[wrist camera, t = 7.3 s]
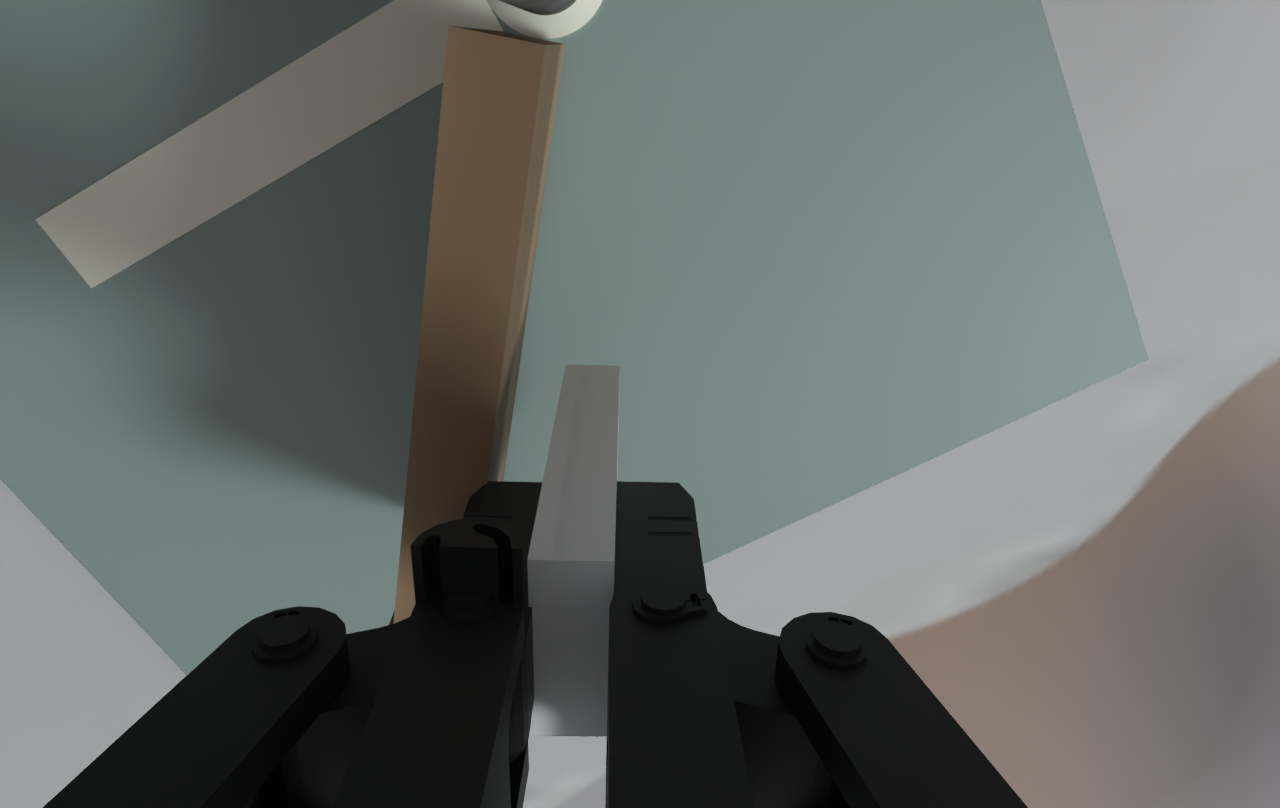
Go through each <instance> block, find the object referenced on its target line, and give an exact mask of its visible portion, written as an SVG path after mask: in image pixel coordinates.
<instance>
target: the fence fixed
mask: <svg viewBox="0 0 1280 808" xmlns="http://www.w3.org/2000/svg"><path fill="white" fill-rule="evenodd" d="M499 1H502V2H504V3H507V4H510V5H512V6H515V7H517V8H520V9H522V10H525V11H528V12H530V13H533V14H537V15H554V14H557V13H560V12H562V11H564V10H566V9H567V8H569V7H570V6H571V5H572V4H574V3H575V1H576V0H499Z"/></svg>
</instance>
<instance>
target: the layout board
mask: <svg viewBox="0 0 1280 808" xmlns="http://www.w3.org/2000/svg"><path fill="white" fill-rule="evenodd" d="M448 26H457V27H467V28H476V29H486V30H495V31H503V32H508V33H512V34H517V35H522V36H527V37H532V38H537V39H542V40H547V41H552V42H557V43H562V44H565V49H564V56H563V63H562V70H561V77H560V85H559V92H558V99H557V106H556V113H555V120H554V127H553V134H552V141H551V148H550V155H549V162H548V169H547V176H546V183H545V191H544V198H543V205H542V212H541V219H540V226H539V233H538V240H537V247H536V254H535V261H534V268H533V275H532V282H531V289H530V297H529V304H528V311H527V318H526V325H525V332H524V339H523V346H522V353H521V360H520V367H519V374H518V381H517V388H516V395H515V403H514V410H513V417H512V424H511V431H510V438H509V445H508V452H507V459H506V466H505V473H504V480H503V481H509V482H543V477H544V472H545V467H546V462H547V457H548V452H549V447H550V442H551V437H552V432H553V427H554V421H555V416H556V411H557V406H558V401H559V396H560V391H561V386H562V381H563V376H564V371H565V366H566V365H606V366H620V382H619V428H618V475H617V481H624V482H673V483H680V485H681V486H682V487H683V488H684V489H685V490H686V491H687V492H688V493H689V494H690V495H691V496H692V497H693V499H694V503H695V510H696V521H697V525H698V532H699V539H700V546H701V553H702V560H703V564H704V563H707V562H709V561H711V560H713V559H715V558H718V557H720V556H722V555H724V554H726V553H728V552H731V551H733V550H735V549H737V548H739V547H741V546H744V545H746V544H748V543H750V542H752V541H755V540H757V539H759V538H761V537H763V536H765V535H768V534H770V533H772V532H774V531H776V530H778V529H781V528H783V527H785V526H787V525H789V524H792V523H794V522H796V521H798V520H800V519H802V518H805V517H807V516H809V515H811V514H813V513H815V512H818V511H820V510H822V509H824V508H826V507H829V506H831V505H833V504H835V503H837V502H839V501H842V500H844V499H846V498H848V497H850V496H852V495H855V494H857V493H859V492H861V491H863V490H866V489H868V488H870V487H872V486H874V485H876V484H879V483H881V482H883V481H885V480H887V479H889V478H892V477H894V476H896V475H898V474H900V473H903V472H905V471H907V470H909V469H911V468H913V467H916V466H918V465H920V464H922V463H924V462H926V461H929V460H931V459H933V458H935V457H937V456H940V455H942V454H944V453H946V452H948V451H950V450H953V449H955V448H957V447H959V446H961V445H963V444H966V443H968V442H970V441H972V440H974V439H977V438H979V437H981V436H983V435H985V434H987V433H990V432H992V431H994V430H996V429H998V428H1000V427H1003V426H1005V425H1007V424H1009V423H1011V422H1014V421H1016V420H1018V419H1020V418H1022V417H1024V416H1027V415H1029V414H1031V413H1033V412H1035V411H1037V410H1040V409H1042V408H1044V407H1046V406H1048V405H1051V404H1053V403H1055V402H1057V401H1059V400H1061V399H1064V398H1066V397H1068V396H1070V395H1072V394H1074V393H1077V392H1079V391H1081V390H1083V389H1085V388H1087V387H1090V386H1092V385H1094V384H1096V383H1098V382H1101V381H1103V380H1105V379H1107V378H1109V377H1111V376H1114V375H1116V374H1118V373H1120V372H1122V371H1124V370H1127V369H1129V368H1131V367H1133V366H1135V365H1138V364H1140V363H1142V362H1144V361H1146V360H1148V356H1147V353H1146V350H1145V346H1144V343H1143V340H1142V336H1141V333H1140V330H1139V326H1138V323H1137V320H1136V316H1135V313H1134V310H1133V306H1132V303H1131V300H1130V296H1129V293H1128V290H1127V287H1126V283H1125V280H1124V277H1123V273H1122V270H1121V267H1120V263H1119V260H1118V257H1117V253H1116V250H1115V247H1114V243H1113V240H1112V237H1111V233H1110V230H1109V227H1108V223H1107V220H1106V217H1105V213H1104V210H1103V207H1102V203H1101V200H1100V197H1099V194H1098V190H1097V187H1096V184H1095V180H1094V177H1093V174H1092V170H1091V167H1090V164H1089V160H1088V157H1087V154H1086V150H1085V147H1084V144H1083V140H1082V137H1081V134H1080V130H1079V127H1078V124H1077V120H1076V117H1075V114H1074V111H1073V107H1072V104H1071V101H1070V97H1069V94H1068V91H1067V87H1066V84H1065V81H1064V77H1063V74H1062V71H1061V67H1060V64H1059V61H1058V57H1057V54H1056V51H1055V47H1054V44H1053V41H1052V37H1051V34H1050V31H1049V27H1048V24H1047V21H1046V18H1045V14H1044V11H1043V8H1042V4H1041V1H1040V0H576V1H575V3H574V4H572V5H571V6H570V7H569V8H567V9H566V10H564V11H562V12H560V13H557V14H554V15H537V14H533V13H530V12H528V11H525V10H522V9H520V8H517V7H515V6H512V5H510V4H507V3H504V2H502V1H499V0H0V479H1V480H2V481H3V482H4V483H5V484H6V485H7V486H8V487H9V488H10V489H11V491H12V492H13V493H14V494H15V495H16V496H17V497H18V498H19V499H20V500H21V501H22V502H23V503H24V504H25V505H26V506H27V507H28V508H29V509H30V511H31V512H32V513H33V514H34V515H35V516H36V517H37V518H38V519H39V520H40V521H41V522H42V523H43V524H44V525H45V526H46V527H47V528H48V529H49V531H50V532H51V533H52V534H53V535H54V536H55V537H56V538H57V539H58V540H59V541H60V542H61V543H62V544H63V545H64V546H65V547H66V548H67V549H68V551H69V552H70V553H71V554H72V555H73V556H74V557H75V558H76V559H77V560H78V561H79V562H80V563H81V564H82V565H83V566H84V567H85V568H86V569H87V571H88V572H89V573H90V574H91V575H92V576H93V577H94V578H95V579H96V580H97V581H98V582H99V583H100V584H101V585H102V586H103V587H104V588H105V589H106V591H107V592H108V593H109V594H110V595H111V596H112V597H113V598H114V599H115V600H116V601H117V602H118V603H119V604H120V605H121V606H122V607H123V608H124V609H125V611H126V612H127V613H128V614H129V615H130V616H131V617H132V618H133V619H134V620H135V621H136V622H137V623H138V624H139V625H140V626H141V627H142V628H143V629H144V631H145V632H146V633H147V634H148V635H149V636H150V637H151V638H152V639H153V640H154V641H155V642H156V643H157V644H158V645H159V646H160V647H161V648H162V649H163V651H164V652H165V653H166V654H167V655H168V656H169V657H170V658H171V659H172V660H173V661H174V662H175V663H176V664H177V665H178V666H179V667H180V668H181V670H182V671H183V672H184V673H185V674H186V675H188V674H189V673H190V672H191V671H192V670H194V669H195V668H196V667H197V666H198V665H199V664H200V663H201V662H202V661H203V660H204V659H206V658H207V657H208V656H209V655H210V654H211V653H212V652H213V651H214V650H215V649H216V648H218V647H219V646H220V645H221V644H222V643H223V642H224V641H225V640H226V639H227V638H228V637H230V636H231V635H232V634H233V633H234V632H235V631H236V630H238V629H239V628H241V627H242V626H244V625H245V624H247V623H248V622H249V621H251V620H252V619H254V618H257V617H259V616H262V615H264V614H267V613H270V612H272V611H275V610H280V609H285V608H291V607H297V606H302V607H320V608H322V609H325V610H327V611H330V612H333V613H335V614H337V616H338V617H339V618H340V619H341V620H342V621H343V622H344V623H345V627H346V634H350V633H355V632H360V631H365V630H370V629H375V628H380V627H383V626H387V625H389V623H390V621H391V618H392V615H393V613H394V610H395V601H396V590H397V579H398V568H399V557H400V547H401V536H402V525H403V514H404V503H405V492H406V481H407V471H408V460H409V449H410V438H411V427H412V416H413V405H414V394H415V384H416V373H417V362H418V351H419V340H420V329H421V318H422V308H423V297H424V286H425V275H426V264H427V253H428V242H429V232H430V221H431V210H432V199H433V188H434V177H435V166H436V156H437V145H438V134H439V123H440V112H441V101H442V90H443V80H444V69H445V58H446V47H447V36H448Z"/></svg>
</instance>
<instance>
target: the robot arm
mask: <svg viewBox="0 0 1280 808" xmlns="http://www.w3.org/2000/svg"><path fill="white" fill-rule="evenodd" d="M619 382H620V366H606V365H566V366H565V371H564V376H563V381H562V386H561V391H560V396H559V401H558V406H557V411H556V416H555V421H554V427H553V432H552V437H551V442H550V447H549V452H548V457H547V462H546V467H545V472H544V477H543V482H509V481H488V482H487V484H484V485H483V486H482V487H481V488H480V489H479V490H477V491H476V492H475V493H474V494H473V495H472V496H470V498H469V501H468V504H467V507H466V509H465V512H464V515H463V519H458V520H453V521H449V522H446V523H442V524H438V525H435V526H434V527H432V528H430V529H428V530H426V531H425V532H423V533H421V534H420V535H419V536H418V537H417V538H416V539H415V541H414V542H413V543H412V544H411V545H410V547H411V558H412V569H413V580H414V592H415V606H414V608H413V611H412V613H411V616H410V617H409V618H406V619H404V620H402V621H399V622H397V623H395V624H391V625H387V626H383V627H380V628H375V629H370V630H365V631H360V632H355V633H350V634H346V627H345V623H344V622H343V621H342V620H341V619H340V618H339V617H338V616H337V614H335V613H333V612H330V611H327V610H325V609H322V608H320V607H302V606H297V607H291V608H285V609H280V610H275V611H272V612H270V613H267V614H264V615H262V616H259V617H257V618H254V619H252V620H251V621H249V622H248V623H247V624H245V625H244V626H242V627H241V628H239V629H238V630H236V631H235V632H234V633H233V634H232V635H231V636H230V637H228V638H227V639H226V640H225V641H224V642H223V643H222V644H221V645H220V646H219V647H218V648H216V649H215V650H214V651H213V652H212V653H211V654H210V655H209V656H208V657H207V658H206V659H204V660H203V661H202V662H201V663H200V664H199V665H198V666H197V667H196V668H195V669H194V670H192V671H191V672H190V673H189V674H188V675H187V676H186V677H185V678H184V679H183V680H182V681H180V682H179V683H178V684H177V685H176V686H175V687H174V688H173V689H172V690H171V691H170V692H168V693H167V694H166V695H165V696H164V697H163V698H162V699H161V700H160V701H159V702H158V703H156V704H155V705H154V706H153V707H152V708H151V709H150V710H149V711H148V712H147V713H146V714H144V715H143V716H142V717H141V718H140V719H139V720H138V721H137V722H136V723H135V724H134V725H132V726H131V727H130V728H129V729H128V730H127V731H126V732H125V733H124V734H123V735H121V736H120V737H119V738H118V739H117V740H116V741H115V742H114V743H113V744H112V745H111V746H109V747H108V748H107V749H106V750H105V751H104V752H103V753H102V754H101V755H100V756H99V757H97V758H96V759H95V760H94V761H93V762H92V763H91V764H90V765H89V766H88V767H87V768H85V769H84V770H83V771H82V772H81V773H80V774H79V775H78V776H77V777H76V778H75V779H73V780H72V781H71V782H70V783H69V784H68V785H67V786H66V787H65V788H64V789H63V790H61V791H60V792H59V793H58V794H57V795H56V796H55V797H54V798H53V799H52V800H51V801H49V802H48V803H47V804H46V805H45V806H44V807H43V808H522V807H523V801H524V795H525V789H526V783H527V777H528V770H529V760H528V738H529V731H530V724H531V718H532V736H607V757H606V808H1028V807H1027V806H1026V805H1025V804H1024V803H1023V801H1022V800H1021V799H1020V798H1019V797H1018V795H1017V794H1016V793H1015V792H1014V791H1013V789H1012V788H1011V787H1010V786H1009V785H1008V783H1007V782H1006V781H1005V780H1004V778H1003V777H1002V776H1001V775H1000V774H999V772H998V771H997V770H996V769H995V768H994V766H993V765H992V764H991V763H990V762H989V760H988V759H987V758H986V757H985V756H984V754H983V753H982V752H981V751H980V750H979V748H978V747H977V746H976V745H975V744H974V742H973V741H972V740H971V739H970V738H969V736H968V735H967V734H966V733H965V732H964V730H963V729H962V728H961V727H960V726H959V724H958V723H957V722H956V721H955V720H954V718H953V717H952V716H951V715H950V714H949V712H948V711H947V710H946V709H945V708H944V706H943V705H942V704H941V703H940V701H939V700H938V699H937V698H936V697H935V696H934V694H933V693H932V692H931V691H930V690H929V688H928V687H927V686H926V685H925V684H924V682H923V681H922V680H921V679H920V677H919V676H918V675H917V674H916V673H915V671H914V670H913V669H912V668H911V667H910V665H909V664H908V663H907V662H906V661H905V659H904V658H903V657H902V656H901V655H900V654H899V652H898V651H897V650H896V649H895V647H894V646H893V645H892V644H891V643H890V641H889V640H888V639H887V638H886V637H885V636H884V635H882V634H881V633H880V632H879V631H878V630H877V629H875V628H874V627H873V626H871V625H869V624H867V623H865V622H863V621H861V620H859V619H856V618H854V617H851V616H846V615H842V614H837V613H832V612H824V613H809V614H806V615H803V616H799V617H796V618H794V619H792V620H791V621H790V622H789V623H788V624H787V625H786V626H784V627H783V628H782V631H781V635H780V637H779V636H775V635H771V634H767V633H762V632H758V631H755V630H752V629H749V628H746V627H742V626H740V625H738V624H736V623H734V622H733V621H731V620H729V619H727V618H726V617H725V616H723V615H722V614H721V613H720V612H718V611H717V607H716V605H715V603H714V601H713V599H712V597H711V595H710V594H708V593H707V589H706V581H705V574H704V567H703V560H702V553H701V546H700V539H699V532H698V525H697V521H696V510H695V503H694V499H693V497H692V496H691V495H690V494H689V493H688V492H687V491H686V490H685V489H684V488H683V487H682V486H681V485H680V483H673V482H624V481H617V475H618V428H619Z"/></svg>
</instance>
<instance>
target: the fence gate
mask: <svg viewBox="0 0 1280 808" xmlns="http://www.w3.org/2000/svg"><path fill="white" fill-rule="evenodd" d="M564 49H565V44H562V43H557V42H552V41H547V40H542V39H537V38H532V37H527V36H522V35H517V34H512V33H508V32H503V31H495V30H486V29H476V28H467V27H457V26H448V36H447V47H446V58H445V69H444V80H443V90H442V101H441V112H440V123H439V134H438V145H437V156H436V166H435V177H434V188H433V199H432V210H431V221H430V232H429V242H428V253H427V264H426V275H425V286H424V297H423V308H422V318H421V329H420V340H419V351H418V362H417V373H416V384H415V394H414V405H413V416H412V427H411V438H410V449H409V460H408V471H407V481H406V492H405V503H404V514H403V525H402V536H401V547H400V557H399V568H398V579H397V590H396V601H395V610H394V613H393V615H392V618H391V621H390V623H389V625H391V624H395V623H397V622H399V621H402V620H404V619H406V618H409V617H410V616H411V613H412V611H413V608H414V606H415V592H414V580H413V569H412V558H411V547H410V545H411V544H412V543H413V542H414V541H415V539H416V538H417V537H418V536H419V535H420V534H421V533H423V532H425V531H426V530H428V529H430V528H432V527H434V526H435V525H438V524H442V523H446V522H449V521H453V520H458V519H463V515H464V512H465V509H466V507H467V504H468V501H469V498H470V496H472V495H473V494H474V493H475V492H476V491H477V490H479V489H480V488H481V487H482V486H483V485H484V484H487V482H488V481H503V480H504V473H505V466H506V459H507V452H508V445H509V438H510V431H511V424H512V417H513V410H514V403H515V395H516V388H517V381H518V374H519V367H520V360H521V353H522V346H523V339H524V332H525V325H526V318H527V311H528V304H529V297H530V289H531V282H532V275H533V268H534V261H535V254H536V247H537V240H538V233H539V226H540V219H541V212H542V205H543V198H544V191H545V183H546V176H547V169H548V162H549V155H550V148H551V141H552V134H553V127H554V120H555V113H556V106H557V99H558V92H559V85H560V77H561V70H562V63H563V56H564Z"/></svg>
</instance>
